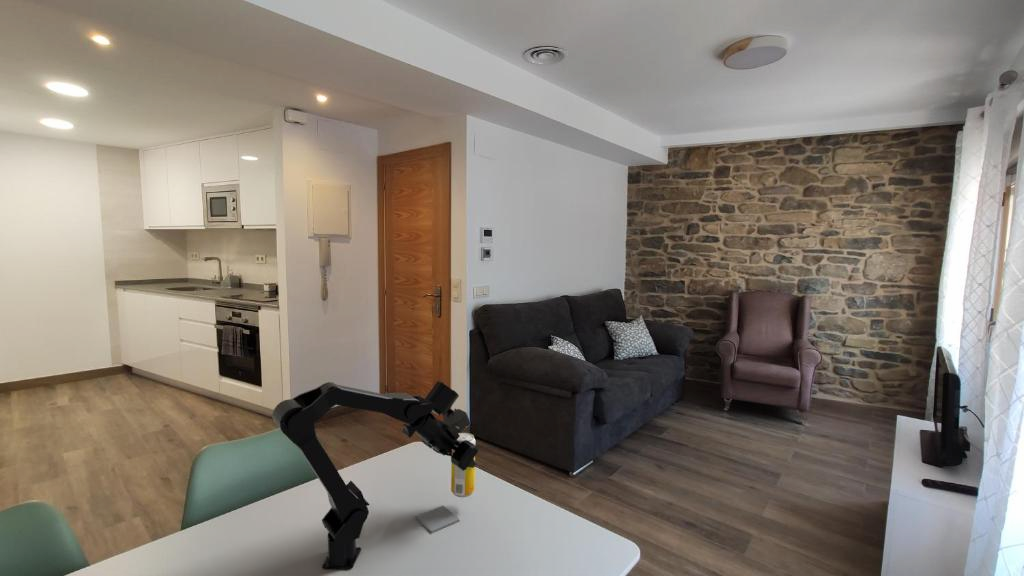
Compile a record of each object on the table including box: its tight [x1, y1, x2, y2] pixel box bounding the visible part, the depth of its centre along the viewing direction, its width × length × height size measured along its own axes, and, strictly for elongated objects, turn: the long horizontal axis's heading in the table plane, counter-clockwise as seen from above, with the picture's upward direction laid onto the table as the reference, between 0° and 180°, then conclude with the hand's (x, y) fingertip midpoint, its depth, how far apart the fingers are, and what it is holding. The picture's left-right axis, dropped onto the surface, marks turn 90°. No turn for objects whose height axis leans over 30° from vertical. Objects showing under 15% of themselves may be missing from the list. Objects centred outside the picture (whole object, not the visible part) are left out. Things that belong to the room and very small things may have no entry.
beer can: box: [450, 432, 476, 498], centre depth 121 cm, size 6×6×15 cm
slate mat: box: [415, 505, 461, 534], centre depth 117 cm, size 8×8×1 cm
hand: (467, 461), depth 122 cm, fingers closed on beer can, 6 cm apart
